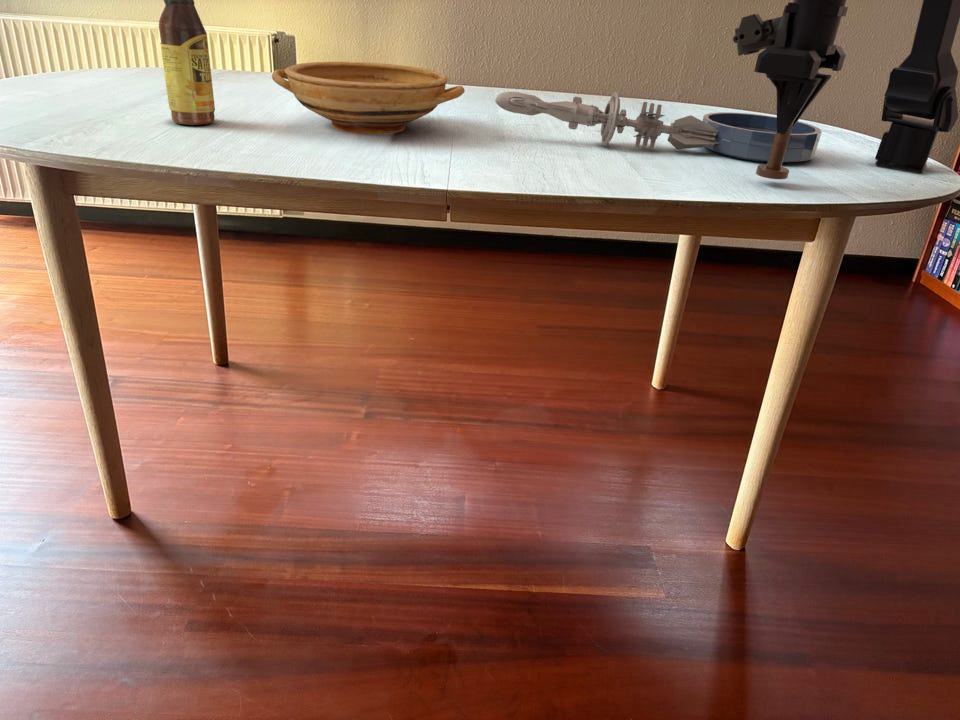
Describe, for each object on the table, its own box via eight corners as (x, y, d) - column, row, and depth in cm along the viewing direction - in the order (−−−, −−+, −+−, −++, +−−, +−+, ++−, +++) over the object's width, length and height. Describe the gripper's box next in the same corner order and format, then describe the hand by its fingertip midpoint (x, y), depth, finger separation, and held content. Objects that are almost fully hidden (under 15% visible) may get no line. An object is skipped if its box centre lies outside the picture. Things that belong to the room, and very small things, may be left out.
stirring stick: (790, 176, 91) (819, 75, 85) (782, 181, 88) (812, 77, 82) (760, 170, 93) (786, 71, 87) (751, 174, 90) (778, 72, 84)
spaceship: (498, 79, 106) (501, 63, 98) (715, 118, 108) (735, 106, 100) (489, 131, 107) (492, 119, 99) (705, 169, 109) (724, 160, 101)
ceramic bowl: (473, 122, 116) (476, 71, 112) (448, 152, 95) (451, 91, 91) (304, 106, 118) (301, 55, 114) (243, 132, 97) (237, 72, 93)
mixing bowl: (823, 154, 111) (832, 125, 109) (796, 172, 99) (805, 140, 96) (718, 135, 120) (724, 108, 118) (680, 149, 107) (687, 119, 105)
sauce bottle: (207, 128, 98) (187, -31, 88) (163, 125, 98) (139, -35, 88) (223, 119, 104) (206, -31, 94) (182, 116, 104) (160, -34, 94)
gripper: (773, -8, 91) (743, 114, 98) (727, -13, 77) (697, 130, 85) (863, -2, 85) (824, 128, 93) (831, -5, 72) (789, 146, 79)
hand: (783, 132), depth 88 cm, fingers closed on stirring stick, 2 cm apart
